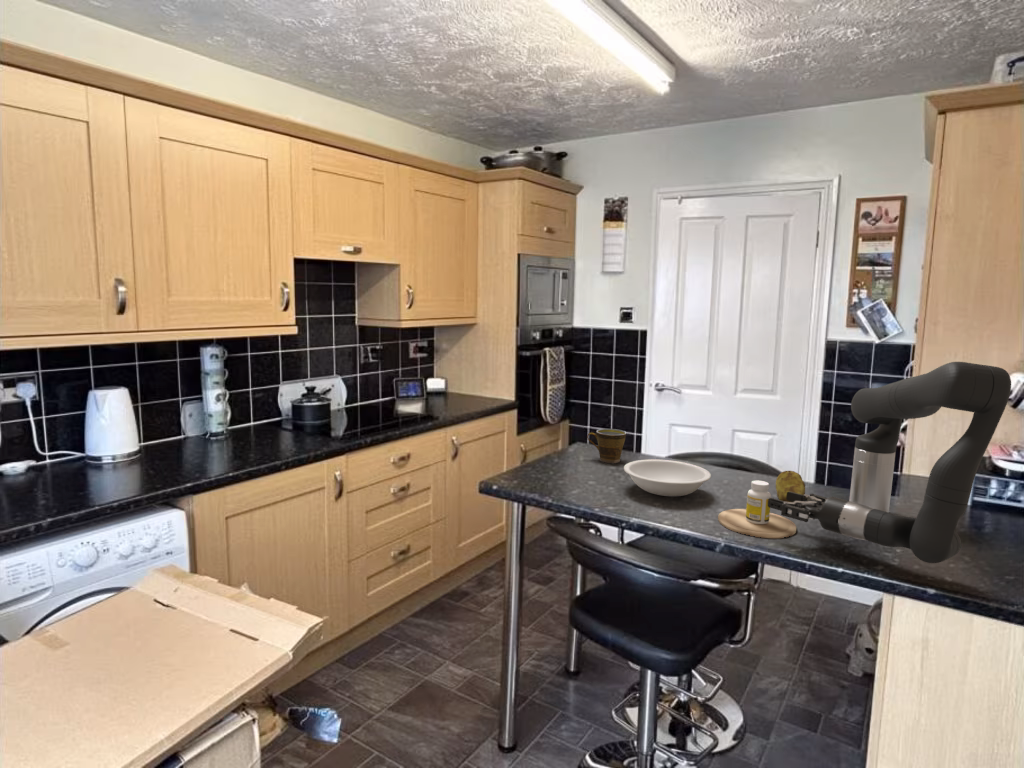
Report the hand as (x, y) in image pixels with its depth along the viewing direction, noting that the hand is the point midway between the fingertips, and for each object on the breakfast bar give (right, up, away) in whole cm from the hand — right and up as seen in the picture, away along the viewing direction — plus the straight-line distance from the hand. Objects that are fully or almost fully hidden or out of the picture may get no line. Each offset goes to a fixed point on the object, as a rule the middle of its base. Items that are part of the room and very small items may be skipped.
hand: (778, 498), depth 148 cm
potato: (+13, -5, +23) cm, 27 cm away
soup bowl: (-20, -4, +28) cm, 35 cm away
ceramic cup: (-32, +1, +62) cm, 70 cm away
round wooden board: (-3, -7, +5) cm, 9 cm away
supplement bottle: (-3, -7, +5) cm, 9 cm away
